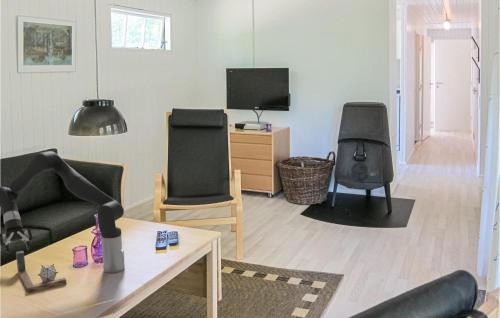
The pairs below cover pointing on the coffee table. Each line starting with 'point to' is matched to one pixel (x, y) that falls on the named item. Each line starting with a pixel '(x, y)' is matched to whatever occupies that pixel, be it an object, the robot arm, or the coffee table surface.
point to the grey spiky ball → (47, 273)
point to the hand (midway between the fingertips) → (18, 251)
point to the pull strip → (26, 279)
